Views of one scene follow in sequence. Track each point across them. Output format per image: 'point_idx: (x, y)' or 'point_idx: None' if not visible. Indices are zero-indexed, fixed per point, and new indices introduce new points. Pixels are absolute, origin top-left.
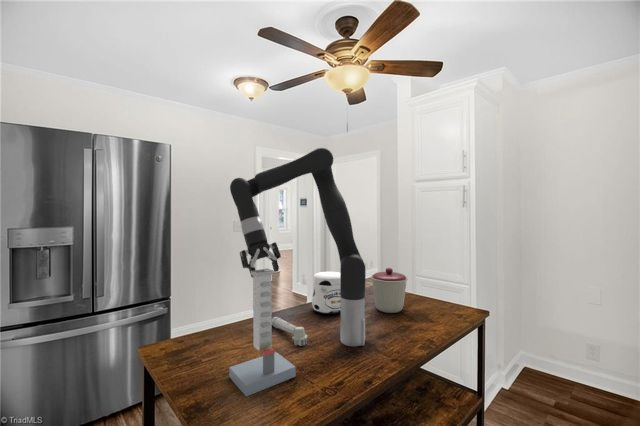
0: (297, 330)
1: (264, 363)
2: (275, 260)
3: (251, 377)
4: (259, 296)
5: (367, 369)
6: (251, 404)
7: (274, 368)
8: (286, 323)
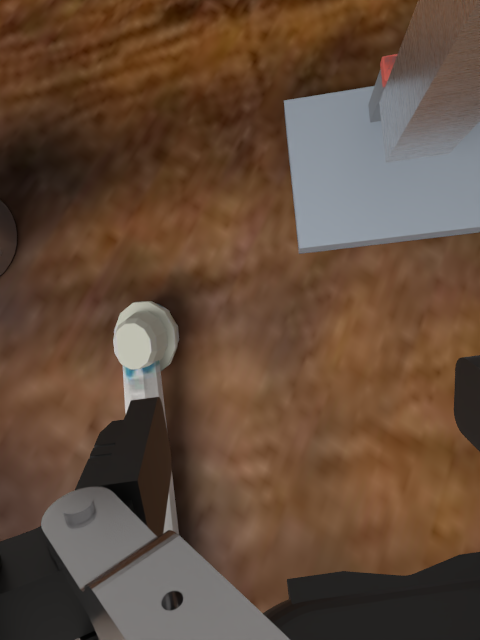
0: (150, 331)
1: None
2: (102, 488)
3: None
4: None
5: (56, 39)
6: None
7: (358, 127)
8: None
